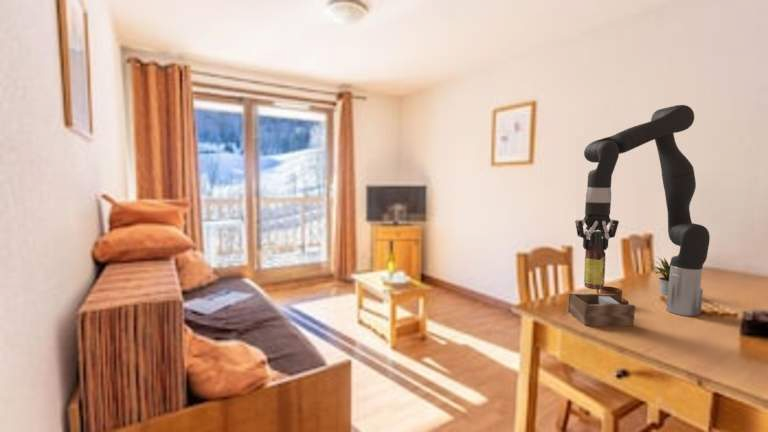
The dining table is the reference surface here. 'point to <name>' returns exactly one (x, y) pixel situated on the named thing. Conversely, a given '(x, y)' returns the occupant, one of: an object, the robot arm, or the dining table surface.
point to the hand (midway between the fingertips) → (595, 249)
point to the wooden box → (600, 311)
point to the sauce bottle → (595, 262)
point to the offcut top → (607, 301)
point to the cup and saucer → (614, 291)
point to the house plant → (664, 280)
